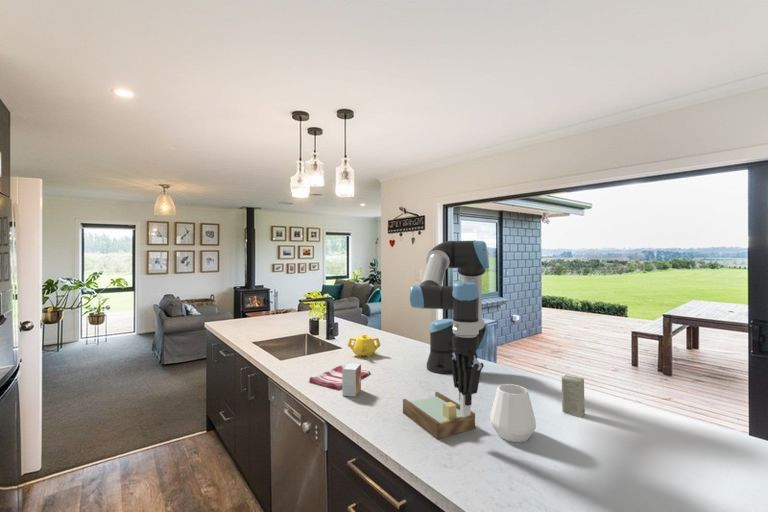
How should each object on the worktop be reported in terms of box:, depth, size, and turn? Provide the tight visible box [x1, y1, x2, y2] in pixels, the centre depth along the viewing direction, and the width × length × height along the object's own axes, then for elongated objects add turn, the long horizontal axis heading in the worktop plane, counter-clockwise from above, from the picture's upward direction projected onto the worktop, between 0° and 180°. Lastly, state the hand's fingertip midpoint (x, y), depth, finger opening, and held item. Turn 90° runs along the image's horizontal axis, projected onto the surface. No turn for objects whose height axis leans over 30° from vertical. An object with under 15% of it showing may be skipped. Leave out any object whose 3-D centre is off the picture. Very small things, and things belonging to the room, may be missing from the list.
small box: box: [341, 362, 362, 398], centre depth 143 cm, size 8×6×10 cm
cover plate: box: [410, 396, 463, 422], centre depth 119 cm, size 12×18×5 cm
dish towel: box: [308, 365, 372, 391], centre depth 160 cm, size 17×23×3 cm
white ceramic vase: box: [489, 383, 537, 443], centre depth 110 cm, size 13×13×14 cm
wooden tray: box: [402, 391, 476, 440], centre depth 119 cm, size 15×20×5 cm
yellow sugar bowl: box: [347, 333, 381, 358], centre depth 196 cm, size 20×18×11 cm
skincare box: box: [561, 374, 586, 418], centre depth 125 cm, size 6×4×12 cm
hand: (465, 414), depth 106 cm, fingers closed
